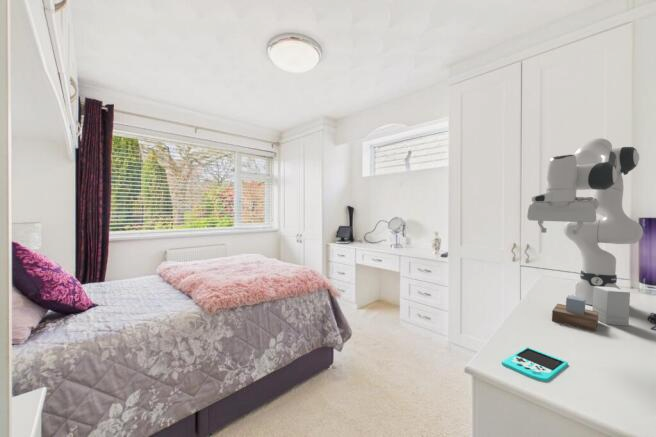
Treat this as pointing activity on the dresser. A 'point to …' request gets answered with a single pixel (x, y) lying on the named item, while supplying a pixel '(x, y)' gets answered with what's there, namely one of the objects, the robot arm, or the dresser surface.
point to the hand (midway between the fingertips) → (558, 233)
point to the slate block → (575, 304)
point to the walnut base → (575, 317)
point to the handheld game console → (535, 364)
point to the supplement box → (611, 305)
